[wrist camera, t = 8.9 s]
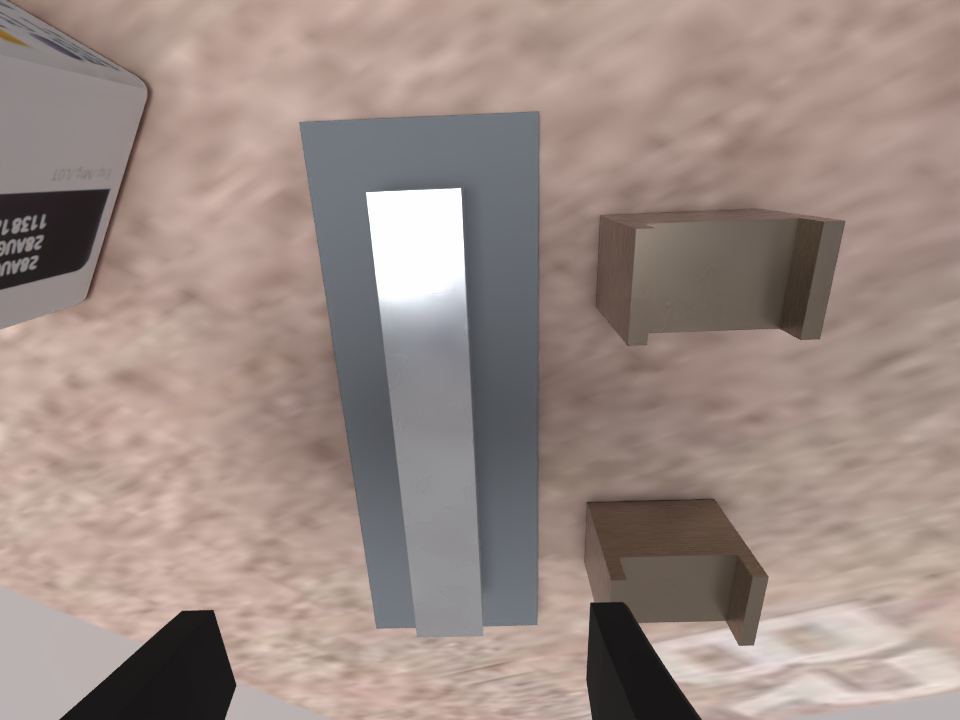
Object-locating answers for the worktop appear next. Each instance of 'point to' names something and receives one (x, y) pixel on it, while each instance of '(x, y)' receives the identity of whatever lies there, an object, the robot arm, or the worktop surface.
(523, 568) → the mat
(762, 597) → the post
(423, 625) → the rail
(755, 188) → the worktop surface
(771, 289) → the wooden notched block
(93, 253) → the lidar sensor
